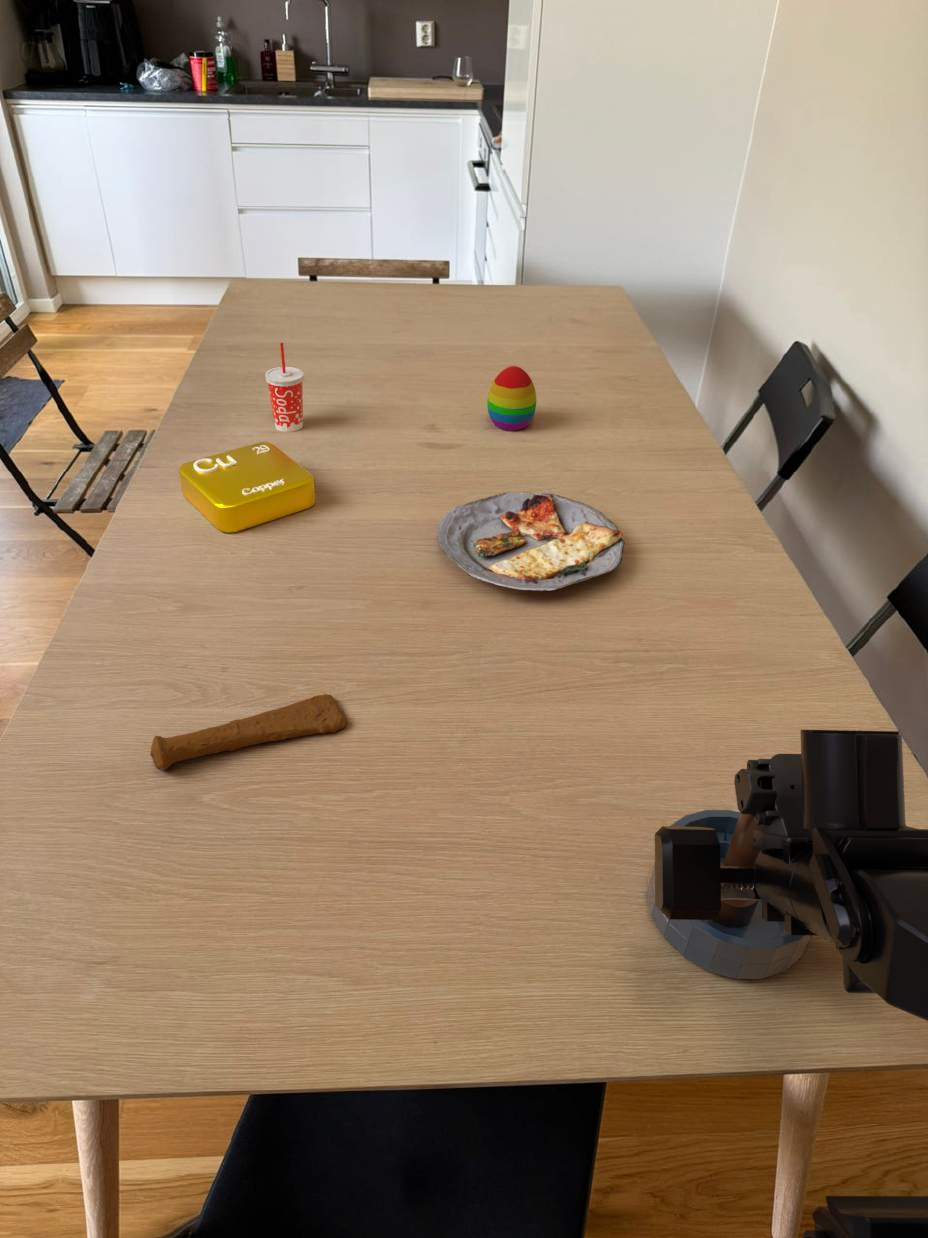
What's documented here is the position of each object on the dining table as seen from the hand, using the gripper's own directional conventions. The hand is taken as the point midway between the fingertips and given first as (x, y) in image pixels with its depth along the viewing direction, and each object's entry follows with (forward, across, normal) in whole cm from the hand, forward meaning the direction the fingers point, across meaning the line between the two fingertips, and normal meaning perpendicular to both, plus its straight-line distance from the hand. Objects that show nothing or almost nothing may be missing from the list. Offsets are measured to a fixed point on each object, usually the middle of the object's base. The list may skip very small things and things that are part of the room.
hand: (747, 857), depth 72 cm
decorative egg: (+73, +14, -61) cm, 96 cm away
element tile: (+54, +53, -42) cm, 86 cm away
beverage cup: (+71, +51, -59) cm, 105 cm away
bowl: (+6, 0, +5) cm, 8 cm away
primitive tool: (+20, +44, -8) cm, 49 cm away
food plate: (+46, +13, -34) cm, 58 cm away
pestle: (+5, 0, +5) cm, 7 cm away
